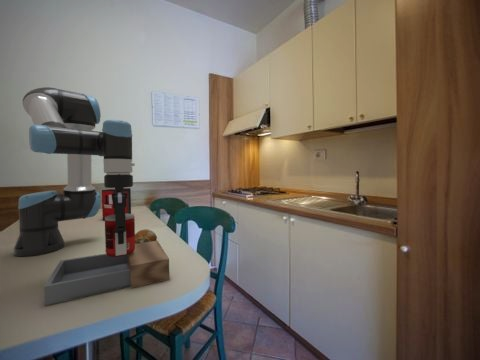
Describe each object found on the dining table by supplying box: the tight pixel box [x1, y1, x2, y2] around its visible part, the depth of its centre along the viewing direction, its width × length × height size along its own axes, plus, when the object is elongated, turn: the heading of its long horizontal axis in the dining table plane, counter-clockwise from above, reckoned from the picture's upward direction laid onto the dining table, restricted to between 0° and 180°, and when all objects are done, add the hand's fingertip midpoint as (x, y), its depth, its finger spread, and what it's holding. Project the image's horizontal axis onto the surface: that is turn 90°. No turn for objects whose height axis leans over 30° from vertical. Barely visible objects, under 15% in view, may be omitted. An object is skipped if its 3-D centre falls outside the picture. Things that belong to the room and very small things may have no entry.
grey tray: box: [43, 253, 131, 306], centre depth 65 cm, size 18×18×4 cm
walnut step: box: [127, 240, 170, 289], centre depth 72 cm, size 10×20×6 cm, turn 29°
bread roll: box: [135, 228, 158, 244], centre depth 99 cm, size 10×10×8 cm
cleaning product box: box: [101, 187, 132, 222], centre depth 154 cm, size 16×9×20 cm, turn 172°
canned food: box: [104, 213, 136, 257], centre depth 68 cm, size 8×8×11 cm
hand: (120, 250), depth 68 cm, fingers closed on canned food, 8 cm apart
